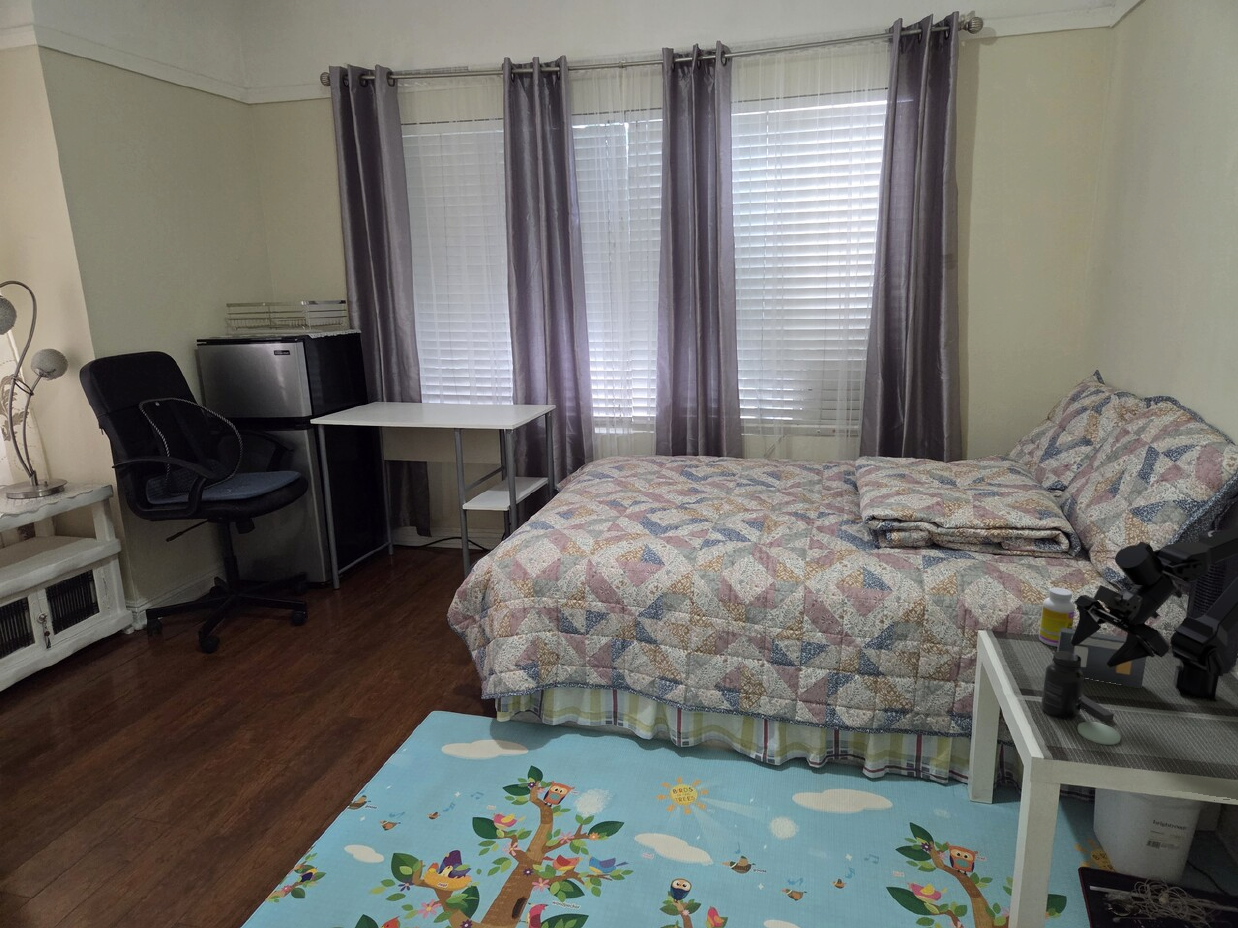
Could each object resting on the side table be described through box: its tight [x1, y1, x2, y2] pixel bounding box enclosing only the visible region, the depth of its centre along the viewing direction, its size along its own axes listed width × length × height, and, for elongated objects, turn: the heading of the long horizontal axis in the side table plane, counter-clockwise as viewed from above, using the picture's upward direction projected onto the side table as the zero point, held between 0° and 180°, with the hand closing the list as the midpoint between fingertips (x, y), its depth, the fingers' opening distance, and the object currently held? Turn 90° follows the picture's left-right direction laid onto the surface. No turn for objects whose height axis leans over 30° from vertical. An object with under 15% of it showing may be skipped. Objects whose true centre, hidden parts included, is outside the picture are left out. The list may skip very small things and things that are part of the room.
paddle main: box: [1115, 661, 1132, 675], centre depth 169 cm, size 2×1×4 cm, turn 66°
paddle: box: [1074, 646, 1088, 667], centre depth 172 cm, size 2×1×4 cm, turn 67°
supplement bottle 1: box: [1038, 587, 1076, 648], centre depth 190 cm, size 7×7×13 cm
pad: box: [1077, 721, 1122, 746], centre depth 153 cm, size 7×7×1 cm
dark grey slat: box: [1080, 694, 1115, 723], centre depth 164 cm, size 14×2×2 cm, turn 15°
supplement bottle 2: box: [1040, 650, 1086, 720], centre depth 159 cm, size 7×7×12 cm
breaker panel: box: [1056, 627, 1147, 689], centre depth 172 cm, size 16×3×10 cm, turn 66°
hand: (1089, 654), depth 159 cm, fingers open, 9 cm apart
